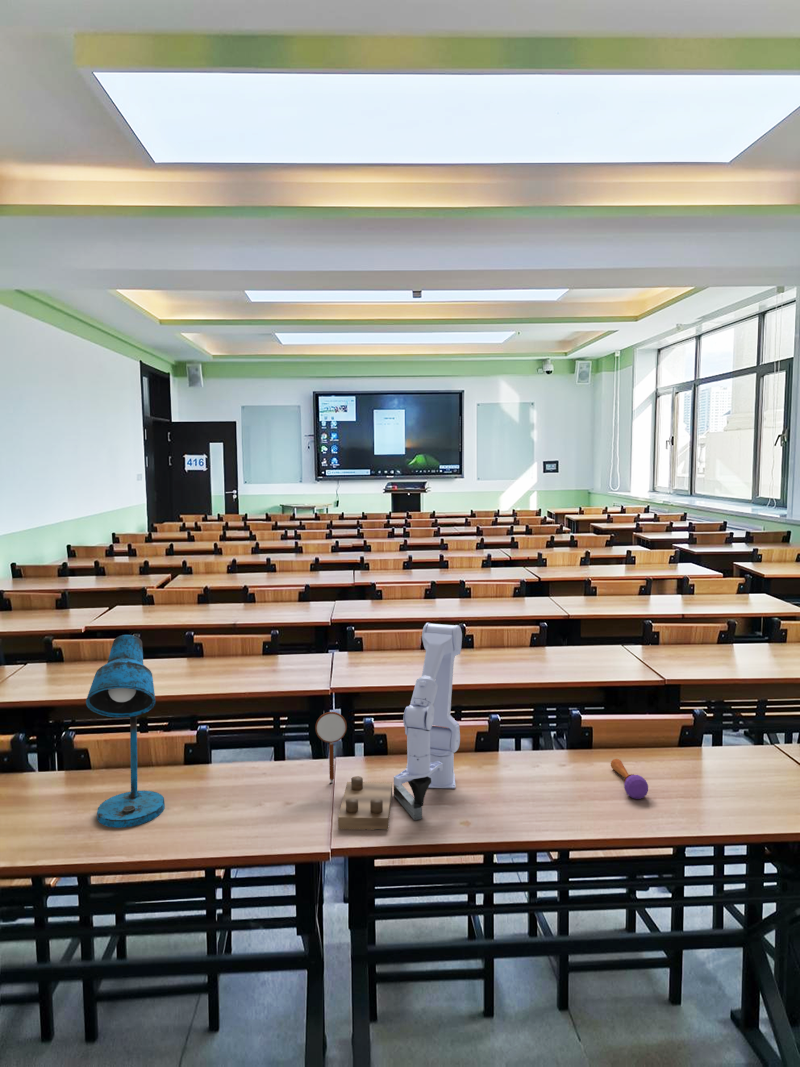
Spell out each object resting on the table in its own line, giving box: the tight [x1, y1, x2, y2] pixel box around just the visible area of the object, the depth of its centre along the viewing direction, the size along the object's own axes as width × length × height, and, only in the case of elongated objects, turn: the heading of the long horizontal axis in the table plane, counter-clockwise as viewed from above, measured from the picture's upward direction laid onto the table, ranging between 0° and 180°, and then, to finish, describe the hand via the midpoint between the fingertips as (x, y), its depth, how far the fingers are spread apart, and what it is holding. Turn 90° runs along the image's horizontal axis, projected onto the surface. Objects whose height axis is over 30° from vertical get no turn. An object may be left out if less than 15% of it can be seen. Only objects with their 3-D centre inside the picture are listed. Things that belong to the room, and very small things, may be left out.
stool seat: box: [337, 776, 393, 831], centre depth 176 cm, size 19×12×6 cm, turn 178°
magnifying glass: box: [314, 711, 348, 783], centre depth 191 cm, size 9×2×20 cm, turn 96°
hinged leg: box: [393, 783, 423, 821], centre depth 178 cm, size 15×2×4 cm, turn 21°
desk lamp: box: [85, 634, 166, 829], centre depth 172 cm, size 16×22×45 cm
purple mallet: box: [610, 758, 649, 800], centre depth 190 cm, size 6×6×20 cm
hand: (418, 805), depth 175 cm, fingers closed, pressing on hinged leg
